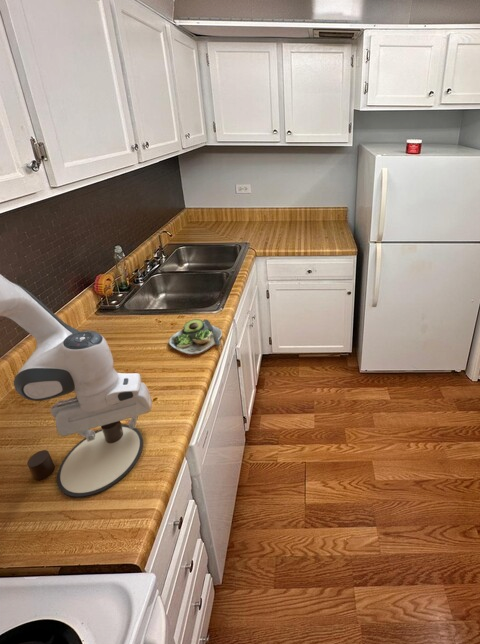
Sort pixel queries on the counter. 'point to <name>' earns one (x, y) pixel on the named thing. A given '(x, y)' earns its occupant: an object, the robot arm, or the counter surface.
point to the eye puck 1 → (41, 465)
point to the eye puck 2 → (112, 432)
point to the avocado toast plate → (196, 337)
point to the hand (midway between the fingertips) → (112, 432)
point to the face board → (99, 463)
